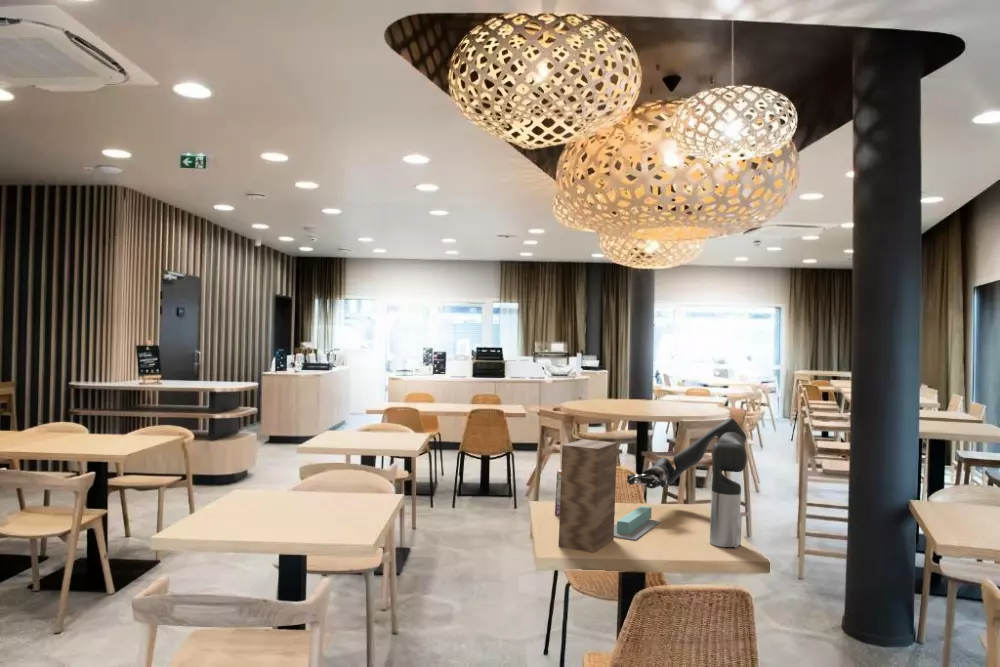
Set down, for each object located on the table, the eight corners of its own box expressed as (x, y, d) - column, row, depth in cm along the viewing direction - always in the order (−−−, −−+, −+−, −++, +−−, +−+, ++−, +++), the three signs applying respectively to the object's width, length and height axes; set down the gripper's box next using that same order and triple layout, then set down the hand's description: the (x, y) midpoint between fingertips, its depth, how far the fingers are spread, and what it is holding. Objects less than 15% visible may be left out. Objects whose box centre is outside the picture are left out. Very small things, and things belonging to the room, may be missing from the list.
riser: (613, 539, 239) (617, 442, 239) (594, 552, 223) (598, 448, 223) (579, 534, 244) (583, 439, 245) (558, 546, 228) (562, 444, 229)
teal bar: (651, 518, 269) (651, 507, 269) (628, 534, 244) (628, 522, 244) (640, 516, 271) (641, 505, 271) (616, 532, 246) (617, 520, 246)
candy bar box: (554, 515, 270) (556, 471, 270) (555, 512, 275) (556, 469, 275) (585, 517, 269) (586, 473, 269) (584, 514, 274) (586, 470, 274)
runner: (660, 522, 265) (660, 521, 265) (635, 540, 239) (635, 539, 239) (628, 517, 271) (628, 516, 271) (601, 535, 244) (601, 533, 244)
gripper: (672, 489, 276) (660, 496, 262) (635, 484, 283) (622, 491, 269) (672, 469, 276) (660, 475, 262) (636, 465, 283) (623, 470, 269)
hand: (641, 483), depth 265 cm, fingers open, 8 cm apart
